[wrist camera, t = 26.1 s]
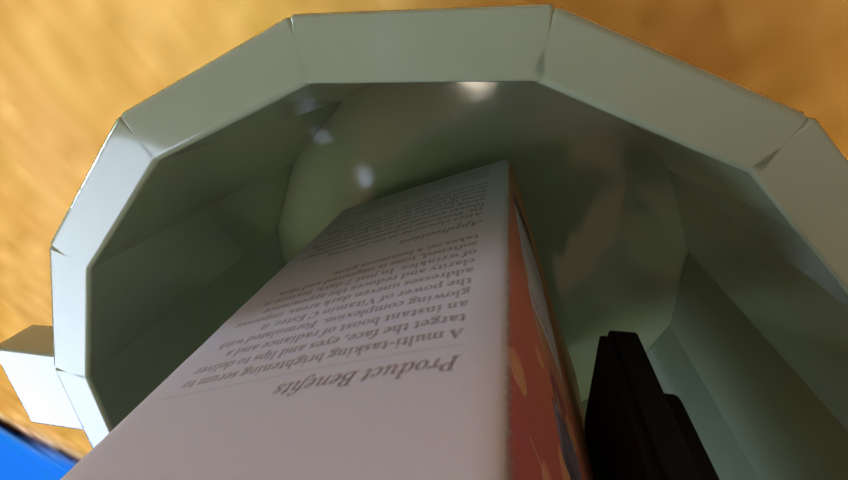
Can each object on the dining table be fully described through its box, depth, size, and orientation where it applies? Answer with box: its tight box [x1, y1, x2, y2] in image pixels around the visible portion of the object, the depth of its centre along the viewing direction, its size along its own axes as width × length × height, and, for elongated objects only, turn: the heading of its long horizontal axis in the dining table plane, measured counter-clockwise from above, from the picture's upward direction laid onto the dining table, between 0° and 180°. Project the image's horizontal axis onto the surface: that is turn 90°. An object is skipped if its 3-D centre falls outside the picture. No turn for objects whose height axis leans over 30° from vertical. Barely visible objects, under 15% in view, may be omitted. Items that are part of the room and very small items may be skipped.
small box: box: [60, 160, 594, 480], centre depth 9 cm, size 8×6×10 cm
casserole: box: [0, 4, 848, 480], centre depth 12 cm, size 16×21×8 cm
